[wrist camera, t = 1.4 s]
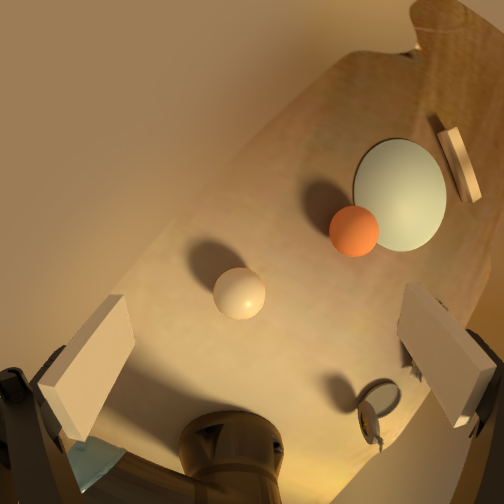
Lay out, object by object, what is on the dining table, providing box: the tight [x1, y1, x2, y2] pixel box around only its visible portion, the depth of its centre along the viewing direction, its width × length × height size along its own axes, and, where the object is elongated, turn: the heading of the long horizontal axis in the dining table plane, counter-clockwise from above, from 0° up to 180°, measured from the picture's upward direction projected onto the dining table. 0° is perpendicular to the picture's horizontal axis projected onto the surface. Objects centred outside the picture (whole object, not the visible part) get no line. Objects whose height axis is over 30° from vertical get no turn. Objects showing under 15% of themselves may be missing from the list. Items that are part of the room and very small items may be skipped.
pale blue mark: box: [354, 139, 446, 251], centre depth 36 cm, size 14×14×1 cm
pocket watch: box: [358, 383, 402, 453], centre depth 36 cm, size 8×8×10 cm
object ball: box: [329, 206, 379, 257], centre depth 33 cm, size 6×6×6 cm
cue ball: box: [213, 268, 266, 320], centre depth 34 cm, size 6×6×6 cm
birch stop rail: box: [437, 127, 482, 203], centre depth 34 cm, size 10×2×2 cm, turn 28°
